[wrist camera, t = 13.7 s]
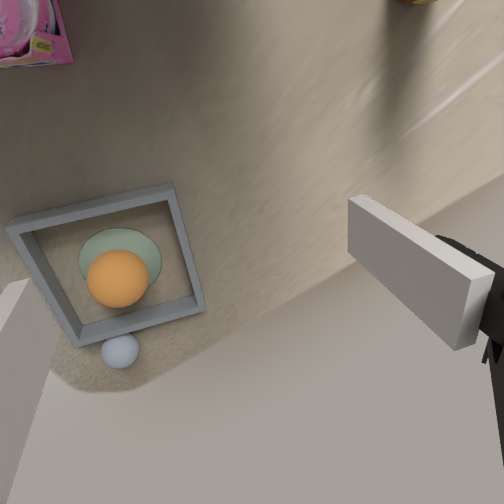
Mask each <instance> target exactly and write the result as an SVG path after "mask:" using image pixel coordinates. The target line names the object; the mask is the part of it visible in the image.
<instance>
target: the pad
mask: <svg viewBox="0 0 504 504" xmlns="http://www.w3.org/2000/svg"><path fill="white" fill-rule="evenodd" d="M110 250H126V251H130V252H132V253H134V254H136V255H137V256H139V257H140V258H141V259H142V260H143V262H144V263H145V265H146V267H147V269H148V274H149V282H148V286H147V288H148V287H149V286H150V285H151V284H152V283H153V282H154V281H155V280H156V279H157V277H158V275H159V273H160V270H161V255H160V252H159V250H158V248H157V246H156V245H155V243H154V242H153V241H152V240H151V239H150V238H149V237H147V236H146V235H144V234H142V233H141V232H138V231H136V230H132V229H127V228H111V229H107V230H103V231H101V232H99V233H97V234H95V235H93V236H92V237H91V238H90V239H88V241H87V242H86V243H85V244H84V246H83V247H82V249H81V252H80V255H79V267H80V271H81V273H82V275H83V277H84V278H85V280H86V281H87V279H86V278H87V272H88V269H89V267H90V265H91V264H92V262H93V261H94V260H95V259H96V258H97V257H98V256H99V255H101V254H103V253H105V252H107V251H110Z"/></svg>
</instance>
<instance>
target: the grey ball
mask: <svg viewBox="0 0 504 504" xmlns="http://www.w3.org/2000/svg"><path fill="white" fill-rule="evenodd" d="M138 354H139V343H138V341H137V339H136V338H135V337H134V336H133V335H132V334H130V333H126V334H122V335H119V336H115V337H112V338H108V339H106V340H105V341H104V343H103V345H102V348H101V356H102V359H103V361H104V362H105V364H106V365H108V366H109V367H111V368H114V369H122V368H126V367H128V366H130V365H131V364H132V363H133V362H134V361H135V360H136V358H137V356H138Z"/></svg>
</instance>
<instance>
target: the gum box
mask: <svg viewBox="0 0 504 504" xmlns="http://www.w3.org/2000/svg"><path fill="white" fill-rule="evenodd" d="M72 63H74V60H73V57H72V53H71V49H70V46H69V42H68V39H67V35H66V31H65V27H64V24H63V20H62V16H61V13H60V9H59V6H58V2H57V0H0V69H2V68H16V67H31V66H43V65H58V64H72Z"/></svg>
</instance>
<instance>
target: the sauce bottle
mask: <svg viewBox="0 0 504 504" xmlns="http://www.w3.org/2000/svg"><path fill="white" fill-rule="evenodd" d="M401 1H403V3H406V4H412V5H413V4H425V3H429V2H433V1H437V0H401Z"/></svg>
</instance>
